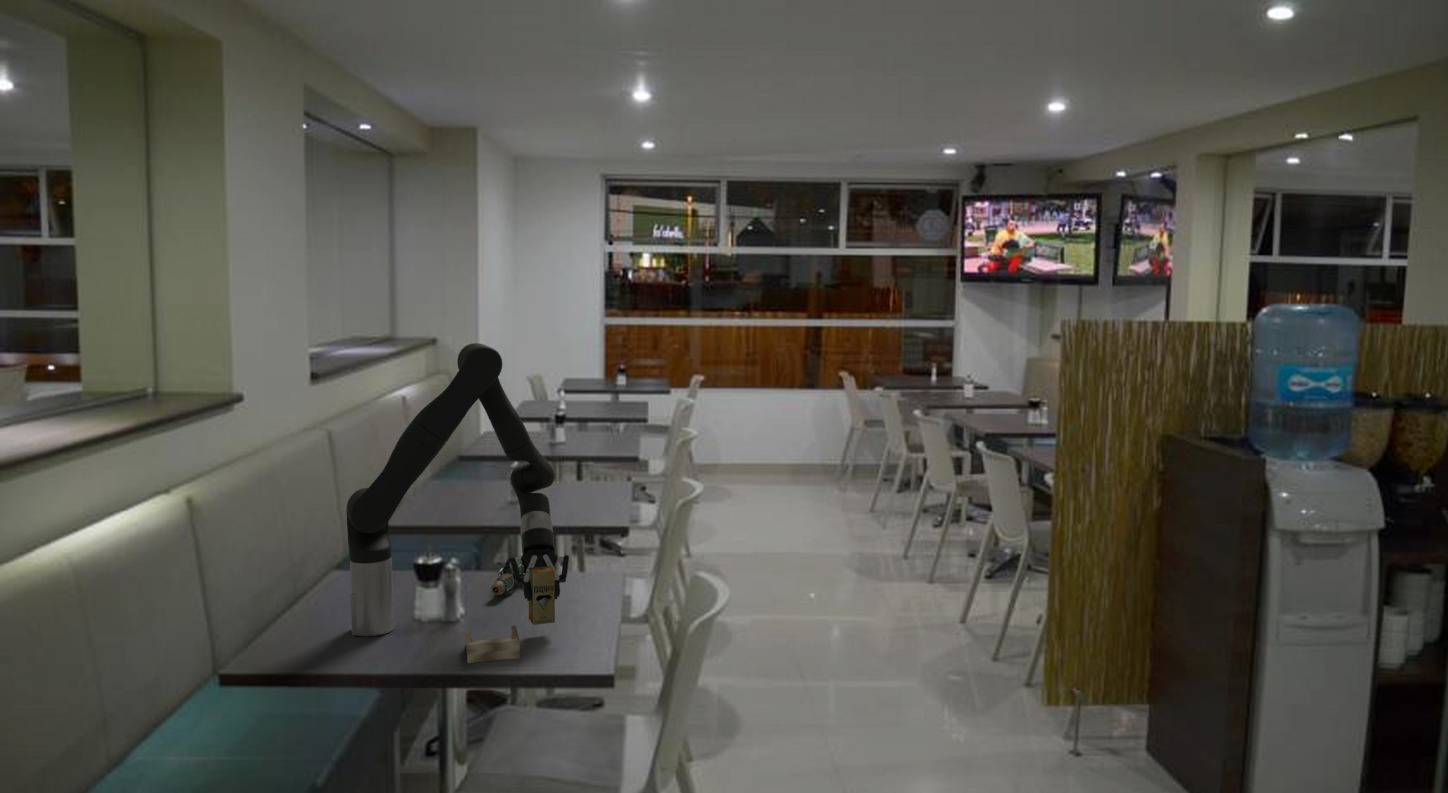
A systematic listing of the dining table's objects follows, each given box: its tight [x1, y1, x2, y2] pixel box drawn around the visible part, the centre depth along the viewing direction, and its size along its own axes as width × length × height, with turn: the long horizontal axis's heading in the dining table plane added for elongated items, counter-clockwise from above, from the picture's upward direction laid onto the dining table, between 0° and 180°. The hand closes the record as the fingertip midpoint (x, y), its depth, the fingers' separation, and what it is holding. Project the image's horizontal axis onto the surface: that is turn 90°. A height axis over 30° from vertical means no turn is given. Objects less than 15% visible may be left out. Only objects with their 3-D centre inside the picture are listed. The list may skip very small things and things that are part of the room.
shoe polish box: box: [528, 566, 556, 626], centre depth 243 cm, size 5×5×12 cm
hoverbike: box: [490, 555, 527, 597], centre depth 280 cm, size 10×25×8 cm, turn 173°
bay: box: [465, 625, 521, 664], centre depth 233 cm, size 11×11×4 cm
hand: (542, 598), depth 241 cm, fingers closed on shoe polish box, 5 cm apart
